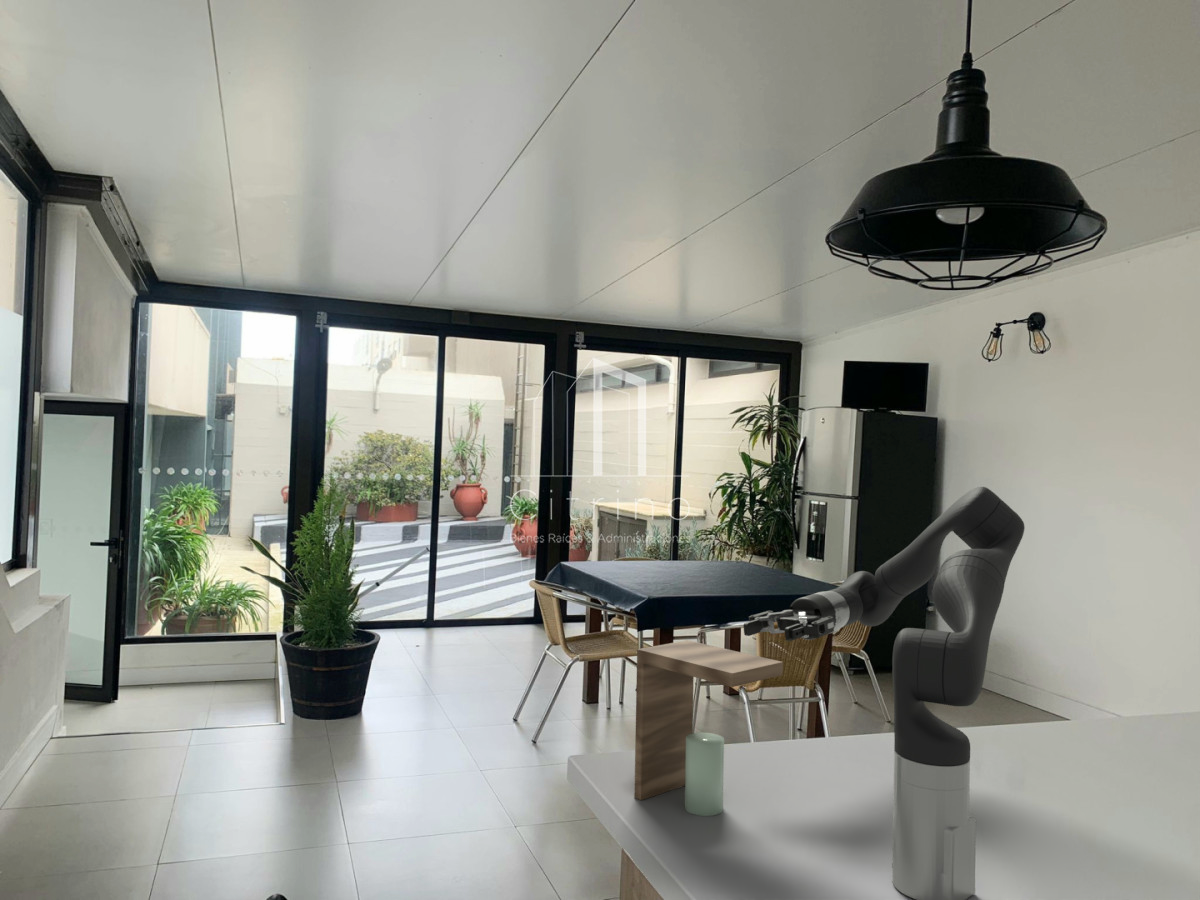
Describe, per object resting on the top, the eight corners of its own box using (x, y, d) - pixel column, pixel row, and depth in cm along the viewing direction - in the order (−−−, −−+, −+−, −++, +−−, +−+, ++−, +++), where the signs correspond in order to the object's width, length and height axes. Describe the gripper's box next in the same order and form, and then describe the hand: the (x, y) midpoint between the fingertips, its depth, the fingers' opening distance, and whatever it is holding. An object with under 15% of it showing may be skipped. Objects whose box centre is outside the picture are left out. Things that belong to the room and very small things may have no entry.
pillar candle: (730, 809, 138) (732, 739, 138) (705, 819, 134) (706, 747, 134) (702, 798, 143) (703, 730, 143) (676, 807, 139) (678, 737, 139)
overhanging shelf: (780, 818, 135) (783, 661, 135) (729, 839, 127) (732, 673, 127) (685, 780, 150) (687, 640, 150) (634, 797, 142) (637, 649, 142)
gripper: (784, 591, 164) (730, 607, 153) (852, 596, 154) (799, 613, 143) (788, 631, 164) (734, 649, 153) (856, 638, 154) (803, 659, 143)
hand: (765, 632), depth 148 cm, fingers open, 8 cm apart
